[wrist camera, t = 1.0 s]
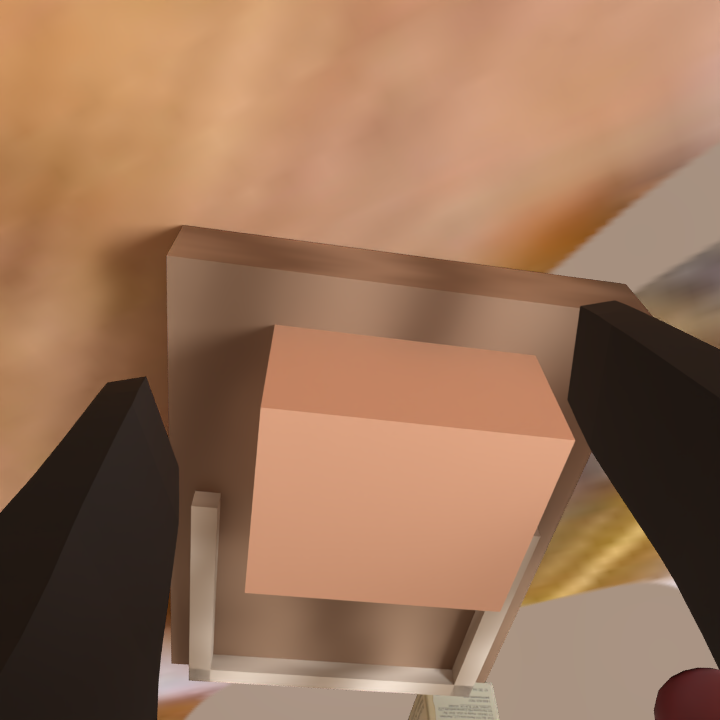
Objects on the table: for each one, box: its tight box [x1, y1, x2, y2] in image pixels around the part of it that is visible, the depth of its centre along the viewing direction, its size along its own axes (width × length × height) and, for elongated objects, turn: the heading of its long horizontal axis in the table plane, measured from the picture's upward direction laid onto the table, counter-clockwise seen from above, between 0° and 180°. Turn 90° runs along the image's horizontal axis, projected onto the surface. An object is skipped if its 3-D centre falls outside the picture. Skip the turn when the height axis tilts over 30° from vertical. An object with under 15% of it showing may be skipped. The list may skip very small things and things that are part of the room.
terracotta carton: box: [245, 325, 575, 612], centre depth 22 cm, size 9×8×4 cm
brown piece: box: [166, 225, 653, 697], centre depth 27 cm, size 16×22×3 cm
